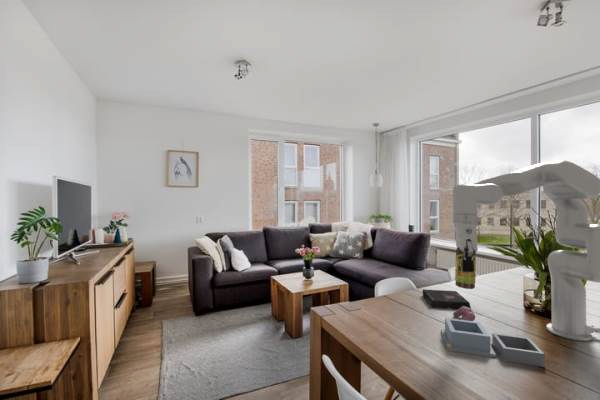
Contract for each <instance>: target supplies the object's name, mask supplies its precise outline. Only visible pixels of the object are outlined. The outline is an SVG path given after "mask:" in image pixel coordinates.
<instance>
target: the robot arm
mask: <svg viewBox="0 0 600 400" xmlns="http://www.w3.org/2000/svg"><path fill="white" fill-rule="evenodd" d="M538 188H542V191H543V193H544V194H545V196H547V197H548V198H549V200H551V201H552V203H554V205H555V208H556V211H557V212H556V223H555V240H556V242H557V244H559V246H560V245H561V246H564V247H566V248H567V247H568V248H571V249H579V250H586V253H585V252H579V251H573V250H567V249H557V250H553V251H551V252H550V253H549V255H548V256H547V259H546V260H547V266H548V267H547V268H548V271H549V274H550V275H549V276H550V282H551V283H550V285H551V286H550V287H551V288H550V292H551V296H550V298H551V309H550V310H551V322H549V323H547V324H546V330H548V331H549V332H550V333H551V334H554V335H557V336H559V337H562V338H565V339H569V340H572V341H573V340H574V341H580V342H589V341H592V340H593V335H592V334H593V333H596V334H600V327H598V326H597V327H595V326H594V325H593V324H587V290H586V286H585V284H584V282H583V280H584V281H587V282H588V281H589V282H593V283H600V224H597V223H589V210H588V207H587V205H586V204H585V202H583V201H582V200H581V199H585V200H586V199H588V200H589V199H593V198H595V197H597V196H599V195H600V178H599V176H597V175H595V174H594V173H592V172H590V171H589V170H587V169H585V168H584V167H582V166H581V165H578V164H576V163H574V162H571V161H569V160H555V161H547V162H541V163H536V164H533V165H530V166H527V167H524V168H521V169H518V170H514V171H511V172H507V173H504V174H501V175H497V176H494V177H490V178H486V179H482V180H478V181H476V182H472V183H469V184H467V183H466V184H465V183H464V184H461V183H460V184H456V185H454V186H453V187H452V223H453V224H455V246H456V249H457V248H458V247H459V249H460V250H461V251H463V259H464V260H463V259H462V270H463V271H465V272H473V250H474V252H476V253H477V252H478V249H479V248H478V236H477V235H478V234H477V225H476V224H478V205H479V206H481V205H482V206H484V205H485V206H488V205H489V206H491V205H492V206H493V205H495V204H498V203H499V202H501V201H502V199H503V197H507V196H509V197H510V196H517V195H522V194H524V193H528V192H530V191H533V190H536V189H538ZM468 231H469V232H468ZM472 247H473V249H472ZM464 249H466V250H468V251H465V250H464ZM465 253H466V254H465Z"/></svg>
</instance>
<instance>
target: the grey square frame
mask: <svg viewBox="0 0 600 400" xmlns="http://www.w3.org/2000/svg"><path fill="white" fill-rule="evenodd" d="M491 335H492V340H491V341H492V346H493V347H494V349H495V350H496V352H497V353H498V355H499V356H500V357H501V359H502V361H503V362H504V361H505V362H510V363H516V364H522V365H530V366H536V367H542V368H546V354H545V353H544V352H543V351H542V349H540V348H539V346H537V344H535V342H534V341H533V340H532V339H531V338H530V337H526V336H518V335H509V334H502V333H495V332H492V334H491Z"/></svg>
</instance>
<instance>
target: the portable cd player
mask: <svg viewBox="0 0 600 400" xmlns="http://www.w3.org/2000/svg"><path fill="white" fill-rule="evenodd" d="M422 297H423V299H424V300H425V301H426V302H427V304H428V305H429V306H430V307H431V309H447V310H448V309H449V310H458V309H459V308H461V307H463V306H464V307H468V308H470V309H472V307H471V303H470V301H468V300H467V299H466V298H465V297H464V296H463V295H461V294H460V293H459V292H458V291H456V290H443V289H424V288H423V289H422Z"/></svg>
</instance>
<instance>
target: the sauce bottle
mask: <svg viewBox="0 0 600 400" xmlns="http://www.w3.org/2000/svg"><path fill="white" fill-rule="evenodd" d="M468 232H469V231H468ZM472 249H473V247H472ZM464 250H465V251H468V250H466V249H464ZM455 251H456V252H455V269H454V270H455V272H454V273H455V276H454V280H455V286H457V287H458V288H460V289H466V290H468V289H469V290H473V289H475V287H476V286H475V285H476V275H477V274H476V270H477V267H476V266H477V263H476V262H477V257H476V255H477V252H474V250H473V272H465V271H463V270H462V259H463V251H461V250H460V249H459V247H458V248H457V247H456V249H455ZM465 254H466V253H465ZM463 260H464V259H463Z"/></svg>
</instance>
